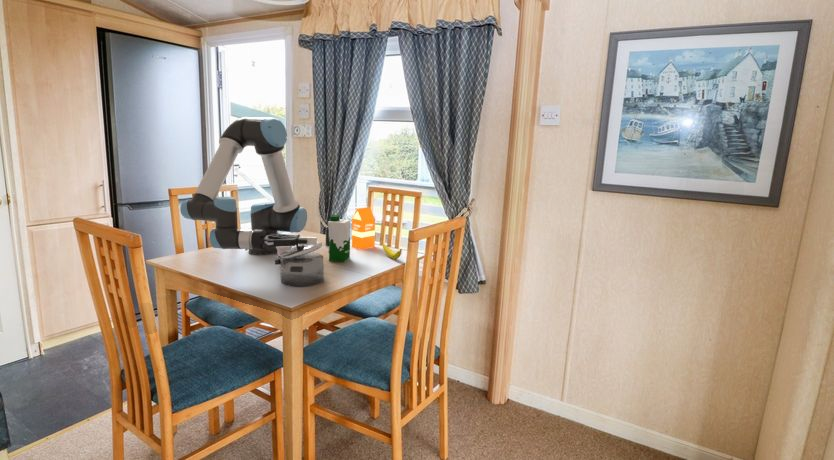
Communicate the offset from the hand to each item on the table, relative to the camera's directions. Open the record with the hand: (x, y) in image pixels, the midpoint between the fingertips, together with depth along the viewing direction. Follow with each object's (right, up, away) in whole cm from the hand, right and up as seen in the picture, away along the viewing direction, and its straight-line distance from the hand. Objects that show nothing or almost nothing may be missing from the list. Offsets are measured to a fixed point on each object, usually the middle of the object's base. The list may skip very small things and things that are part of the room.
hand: (316, 241), depth 171 cm
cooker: (-6, -15, +4) cm, 17 cm away
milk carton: (+3, -9, +34) cm, 36 cm away
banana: (+26, -9, +40) cm, 48 cm away
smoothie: (-18, -12, +20) cm, 29 cm away
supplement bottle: (-5, -4, +61) cm, 61 cm away
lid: (-6, -4, +2) cm, 7 cm away
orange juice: (+11, -4, +59) cm, 60 cm away
